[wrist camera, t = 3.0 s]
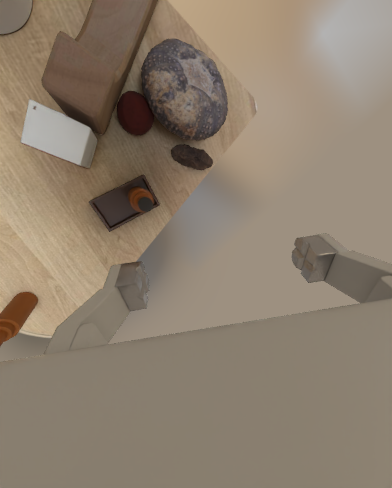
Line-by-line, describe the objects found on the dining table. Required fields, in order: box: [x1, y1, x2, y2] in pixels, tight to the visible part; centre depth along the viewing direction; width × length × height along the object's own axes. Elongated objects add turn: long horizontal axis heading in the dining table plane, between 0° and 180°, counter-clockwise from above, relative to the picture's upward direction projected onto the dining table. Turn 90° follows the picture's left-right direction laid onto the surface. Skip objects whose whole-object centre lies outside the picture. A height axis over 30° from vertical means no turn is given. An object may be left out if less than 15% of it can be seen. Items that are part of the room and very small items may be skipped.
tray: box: [89, 175, 160, 232], centre depth 47 cm, size 14×8×3 cm, turn 115°
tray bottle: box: [128, 187, 154, 212], centre depth 41 cm, size 5×5×16 cm
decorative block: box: [42, 0, 158, 135], centre depth 32 cm, size 15×8×30 cm
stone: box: [171, 144, 213, 170], centre depth 49 cm, size 11×2×5 cm
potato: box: [117, 91, 154, 136], centre depth 40 cm, size 7×8×7 cm
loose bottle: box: [0, 292, 38, 346], centre depth 40 cm, size 5×5×16 cm
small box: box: [21, 99, 98, 168], centre depth 35 cm, size 8×6×13 cm
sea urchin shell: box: [141, 39, 228, 141], centre depth 40 cm, size 19×19×10 cm
